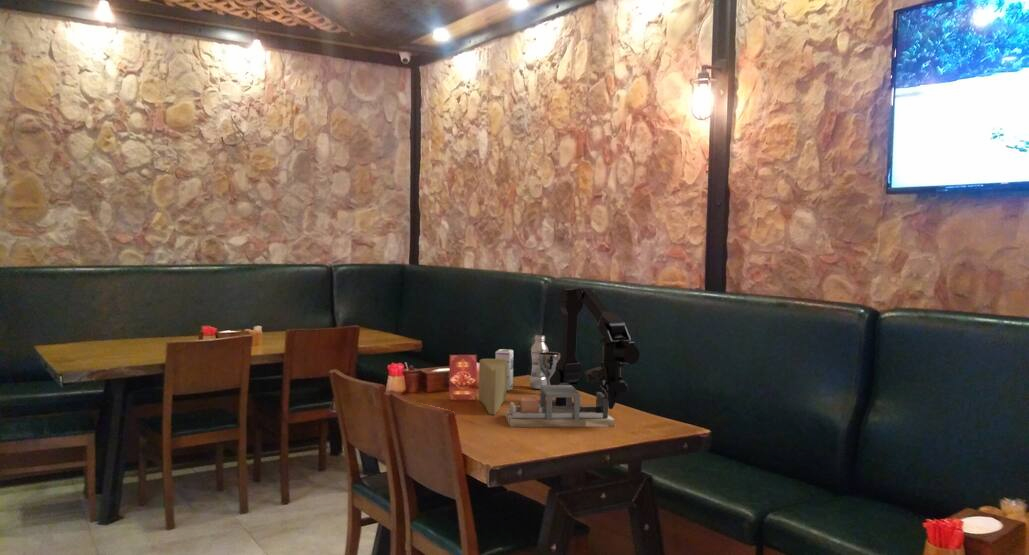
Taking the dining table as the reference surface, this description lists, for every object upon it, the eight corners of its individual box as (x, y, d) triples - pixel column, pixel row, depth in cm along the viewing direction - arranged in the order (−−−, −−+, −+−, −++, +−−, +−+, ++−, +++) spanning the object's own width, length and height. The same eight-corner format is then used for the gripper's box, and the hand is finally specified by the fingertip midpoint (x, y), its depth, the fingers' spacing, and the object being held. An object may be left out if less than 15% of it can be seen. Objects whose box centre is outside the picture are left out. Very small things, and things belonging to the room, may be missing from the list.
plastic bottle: (537, 386, 302) (539, 334, 300) (550, 389, 297) (552, 336, 296) (525, 388, 297) (527, 335, 296) (539, 391, 292) (540, 337, 291)
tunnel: (539, 409, 253) (540, 384, 253) (570, 409, 255) (571, 385, 254) (546, 420, 240) (547, 394, 239) (579, 420, 241) (580, 394, 240)
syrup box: (510, 390, 292) (511, 351, 291) (494, 389, 293) (495, 350, 292) (513, 387, 298) (514, 349, 297) (497, 386, 299) (498, 348, 298)
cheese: (507, 415, 253) (508, 369, 252) (477, 415, 253) (478, 368, 252) (506, 400, 275) (507, 357, 274) (478, 400, 275) (479, 357, 274)
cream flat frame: (505, 416, 252) (505, 409, 252) (604, 415, 256) (604, 409, 256) (510, 427, 238) (510, 420, 238) (614, 426, 242) (614, 420, 242)
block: (519, 413, 248) (520, 397, 248) (535, 413, 249) (536, 397, 248) (521, 416, 243) (522, 400, 243) (538, 416, 244) (538, 400, 243)
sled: (509, 410, 250) (509, 391, 250) (600, 410, 254) (600, 391, 253) (513, 418, 240) (513, 398, 240) (607, 418, 244) (608, 398, 243)
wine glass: (559, 397, 283) (560, 355, 282) (537, 396, 283) (538, 354, 282) (558, 392, 291) (559, 351, 290) (536, 391, 291) (538, 351, 290)
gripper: (580, 354, 256) (579, 402, 257) (593, 364, 238) (591, 416, 239) (614, 354, 258) (612, 402, 259) (629, 364, 239) (627, 415, 240)
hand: (610, 408), depth 249 cm, fingers closed, pressing on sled
